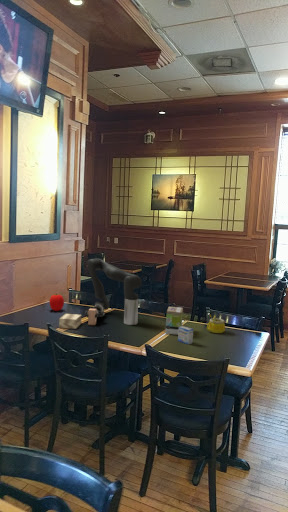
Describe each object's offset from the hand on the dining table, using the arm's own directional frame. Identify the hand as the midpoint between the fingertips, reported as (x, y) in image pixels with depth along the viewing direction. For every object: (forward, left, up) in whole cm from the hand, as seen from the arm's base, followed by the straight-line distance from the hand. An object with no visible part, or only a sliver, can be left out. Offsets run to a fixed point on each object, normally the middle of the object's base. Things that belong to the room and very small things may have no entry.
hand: (91, 316), depth 244 cm
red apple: (+35, -33, -6) cm, 48 cm away
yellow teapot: (-82, -4, -6) cm, 82 cm away
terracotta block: (0, -3, -6) cm, 7 cm away
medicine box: (-62, +22, -6) cm, 66 cm away
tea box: (-55, +1, -6) cm, 55 cm away
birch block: (+13, +4, -6) cm, 15 cm away
